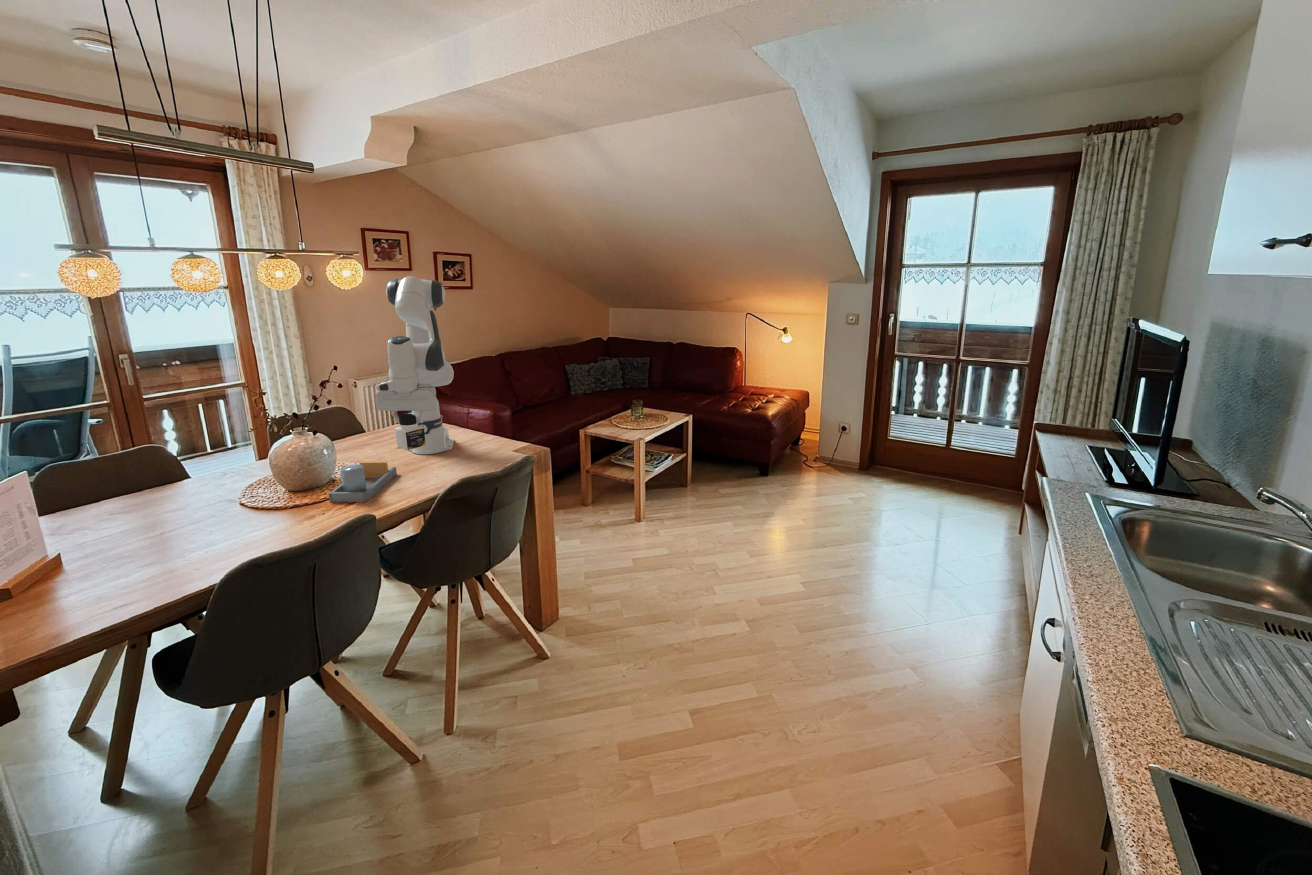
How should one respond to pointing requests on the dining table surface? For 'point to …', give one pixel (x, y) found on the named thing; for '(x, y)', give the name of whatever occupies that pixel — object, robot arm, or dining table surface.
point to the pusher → (374, 469)
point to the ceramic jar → (353, 478)
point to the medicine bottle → (409, 432)
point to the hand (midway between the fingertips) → (409, 422)
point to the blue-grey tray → (372, 488)
